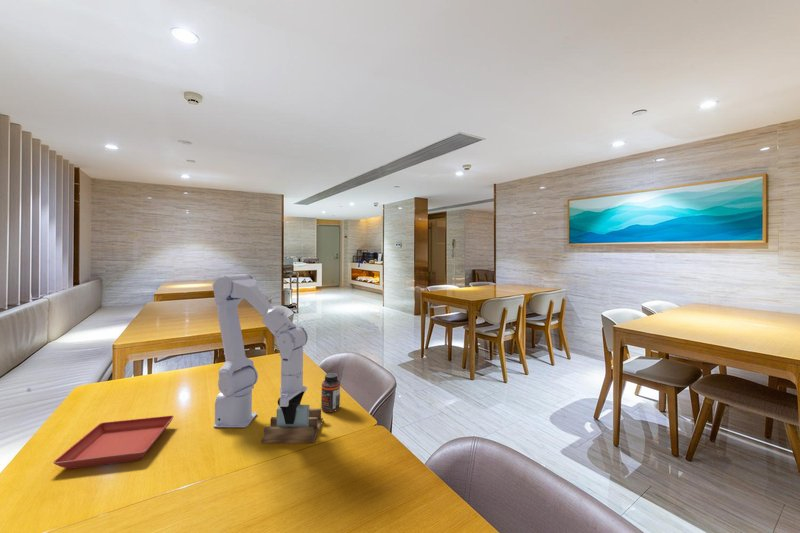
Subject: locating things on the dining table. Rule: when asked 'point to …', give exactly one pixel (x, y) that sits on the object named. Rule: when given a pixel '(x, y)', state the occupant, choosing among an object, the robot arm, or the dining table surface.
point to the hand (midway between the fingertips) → (291, 420)
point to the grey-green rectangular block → (300, 417)
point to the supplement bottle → (330, 393)
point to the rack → (294, 430)
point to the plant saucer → (114, 442)
